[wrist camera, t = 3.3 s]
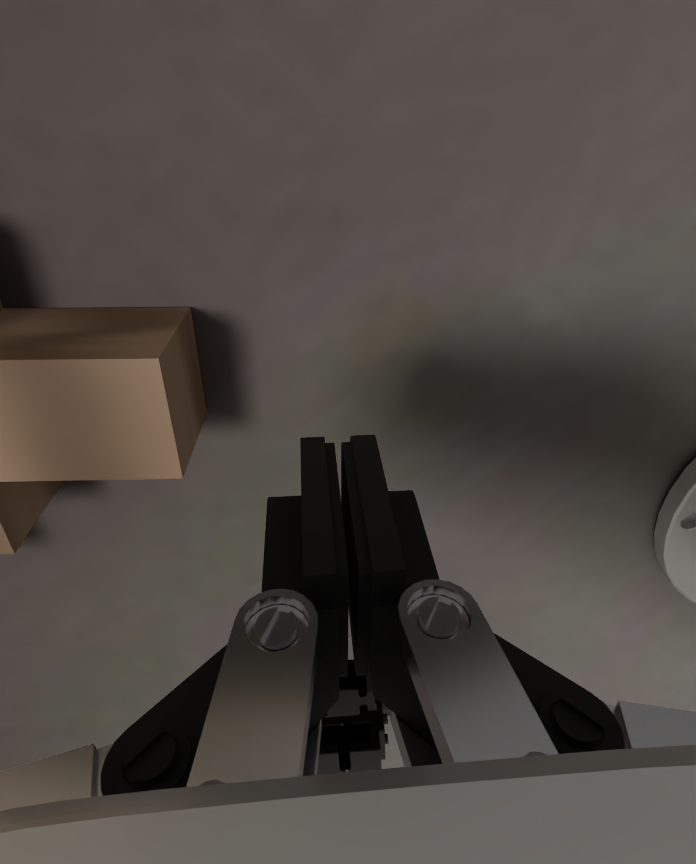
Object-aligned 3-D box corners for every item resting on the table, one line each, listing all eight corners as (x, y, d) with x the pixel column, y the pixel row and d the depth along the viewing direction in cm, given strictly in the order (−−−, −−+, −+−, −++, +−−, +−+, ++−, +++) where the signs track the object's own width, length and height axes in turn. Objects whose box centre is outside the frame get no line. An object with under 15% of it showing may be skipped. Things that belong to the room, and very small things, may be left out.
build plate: (454, 633, 28) (476, 718, 25) (447, 710, 32) (465, 794, 28) (220, 650, 28) (205, 738, 24) (241, 726, 32) (231, 813, 28)
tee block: (174, 209, 16) (134, 241, 13) (217, 477, 21) (196, 549, 18) (-172, 209, 16) (-308, 242, 12) (-40, 481, 21) (-110, 556, 18)
